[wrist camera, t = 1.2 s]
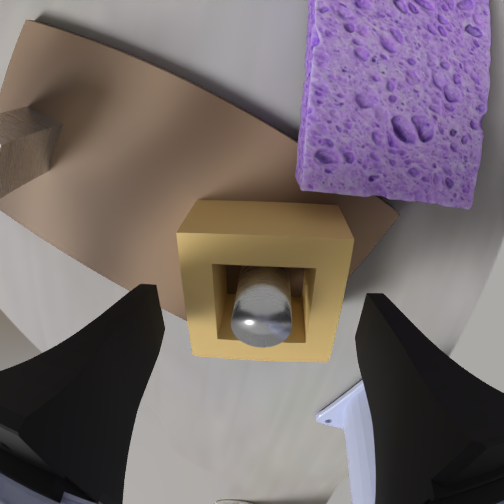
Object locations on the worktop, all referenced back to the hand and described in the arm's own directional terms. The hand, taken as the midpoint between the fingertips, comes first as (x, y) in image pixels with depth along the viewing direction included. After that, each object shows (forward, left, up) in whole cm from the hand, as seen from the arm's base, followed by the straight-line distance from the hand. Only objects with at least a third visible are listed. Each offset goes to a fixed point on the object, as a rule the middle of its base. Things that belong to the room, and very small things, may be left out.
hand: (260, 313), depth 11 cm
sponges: (+1, -11, -4) cm, 12 cm away
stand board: (+6, 0, -4) cm, 7 cm away
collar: (0, 0, -3) cm, 3 cm away
